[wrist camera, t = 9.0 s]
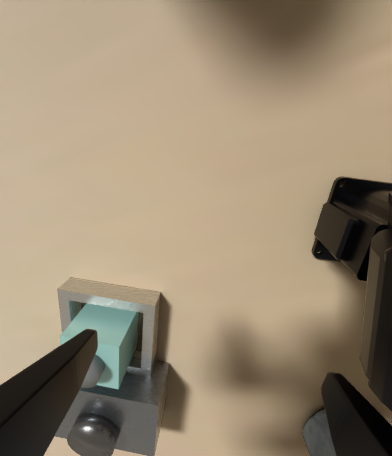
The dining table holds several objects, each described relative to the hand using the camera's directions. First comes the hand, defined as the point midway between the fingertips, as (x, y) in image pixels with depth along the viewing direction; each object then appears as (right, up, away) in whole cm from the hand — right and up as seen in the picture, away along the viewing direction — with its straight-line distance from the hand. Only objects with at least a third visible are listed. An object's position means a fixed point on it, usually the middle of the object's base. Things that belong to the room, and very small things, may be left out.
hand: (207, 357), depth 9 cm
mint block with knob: (-9, -5, +16) cm, 19 cm away
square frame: (-9, -8, +17) cm, 21 cm away
